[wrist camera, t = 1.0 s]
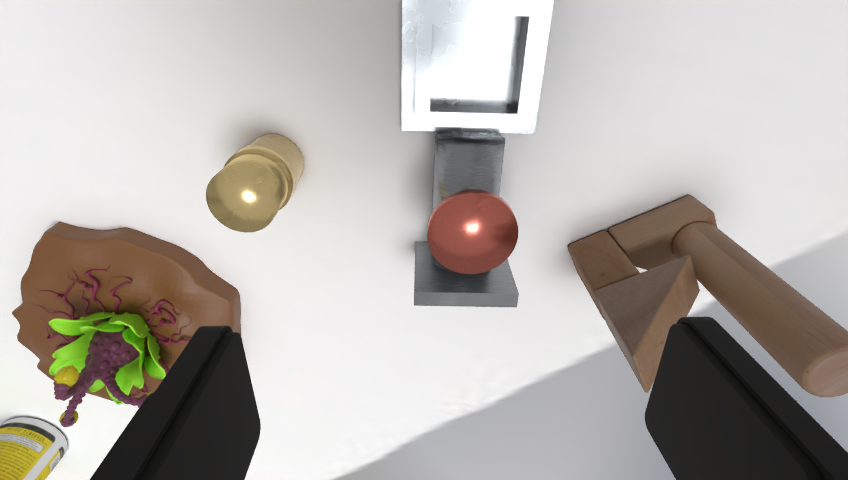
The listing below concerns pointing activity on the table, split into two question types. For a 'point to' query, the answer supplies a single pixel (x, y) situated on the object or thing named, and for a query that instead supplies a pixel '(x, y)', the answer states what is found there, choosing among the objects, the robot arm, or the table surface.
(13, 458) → the supplement bottle
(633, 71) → the table surface
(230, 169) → the cylinder
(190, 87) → the table surface
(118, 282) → the plant
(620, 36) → the table surface
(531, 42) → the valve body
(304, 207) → the table surface
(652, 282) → the wooden block
